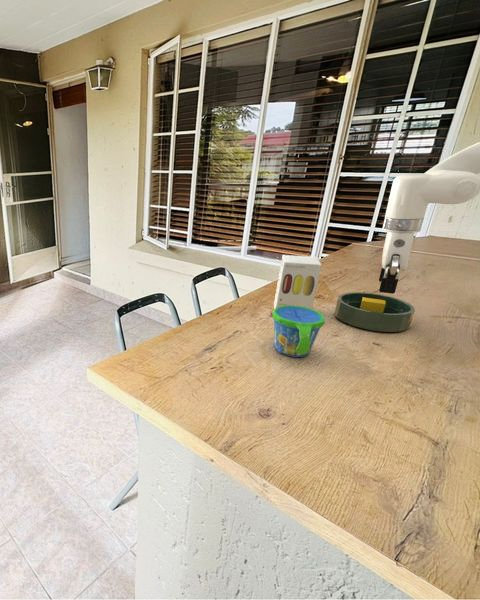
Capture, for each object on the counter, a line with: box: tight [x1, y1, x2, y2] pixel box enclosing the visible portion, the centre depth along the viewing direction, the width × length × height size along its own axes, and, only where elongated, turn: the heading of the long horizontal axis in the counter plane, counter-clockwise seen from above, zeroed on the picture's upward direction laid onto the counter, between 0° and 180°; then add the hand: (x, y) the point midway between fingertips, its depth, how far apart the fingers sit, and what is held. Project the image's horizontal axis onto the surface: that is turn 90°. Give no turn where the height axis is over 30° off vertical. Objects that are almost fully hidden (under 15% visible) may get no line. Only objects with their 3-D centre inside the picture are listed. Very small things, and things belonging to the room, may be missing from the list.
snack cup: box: [272, 306, 326, 358], centre depth 85 cm, size 16×10×10 cm
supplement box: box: [273, 254, 322, 310], centre depth 104 cm, size 10×9×17 cm
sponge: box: [360, 297, 386, 313], centre depth 98 cm, size 5×3×6 cm, turn 52°
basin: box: [333, 291, 416, 333], centre depth 98 cm, size 17×17×6 cm
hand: (386, 287), depth 96 cm, fingers open, 9 cm apart
